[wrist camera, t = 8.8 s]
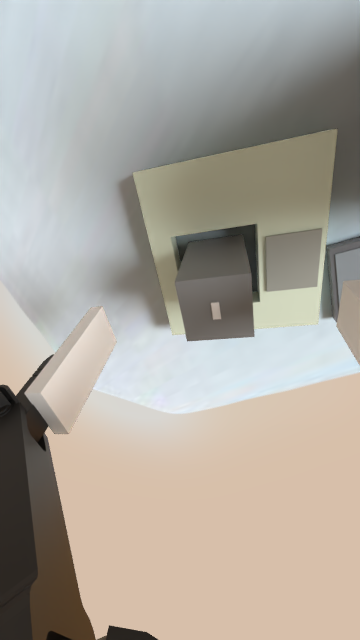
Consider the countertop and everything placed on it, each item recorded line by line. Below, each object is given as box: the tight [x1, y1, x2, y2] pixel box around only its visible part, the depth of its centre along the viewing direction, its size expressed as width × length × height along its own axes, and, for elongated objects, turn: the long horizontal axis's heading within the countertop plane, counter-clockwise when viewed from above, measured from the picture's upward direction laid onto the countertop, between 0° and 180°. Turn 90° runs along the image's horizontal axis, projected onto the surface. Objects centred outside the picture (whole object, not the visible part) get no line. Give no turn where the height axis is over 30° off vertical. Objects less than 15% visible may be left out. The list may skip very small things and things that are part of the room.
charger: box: [175, 234, 254, 341], centre depth 20 cm, size 4×4×8 cm
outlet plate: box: [132, 129, 338, 335], centre depth 21 cm, size 14×13×2 cm
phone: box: [326, 237, 360, 322], centre depth 22 cm, size 7×4×1 cm, turn 21°
